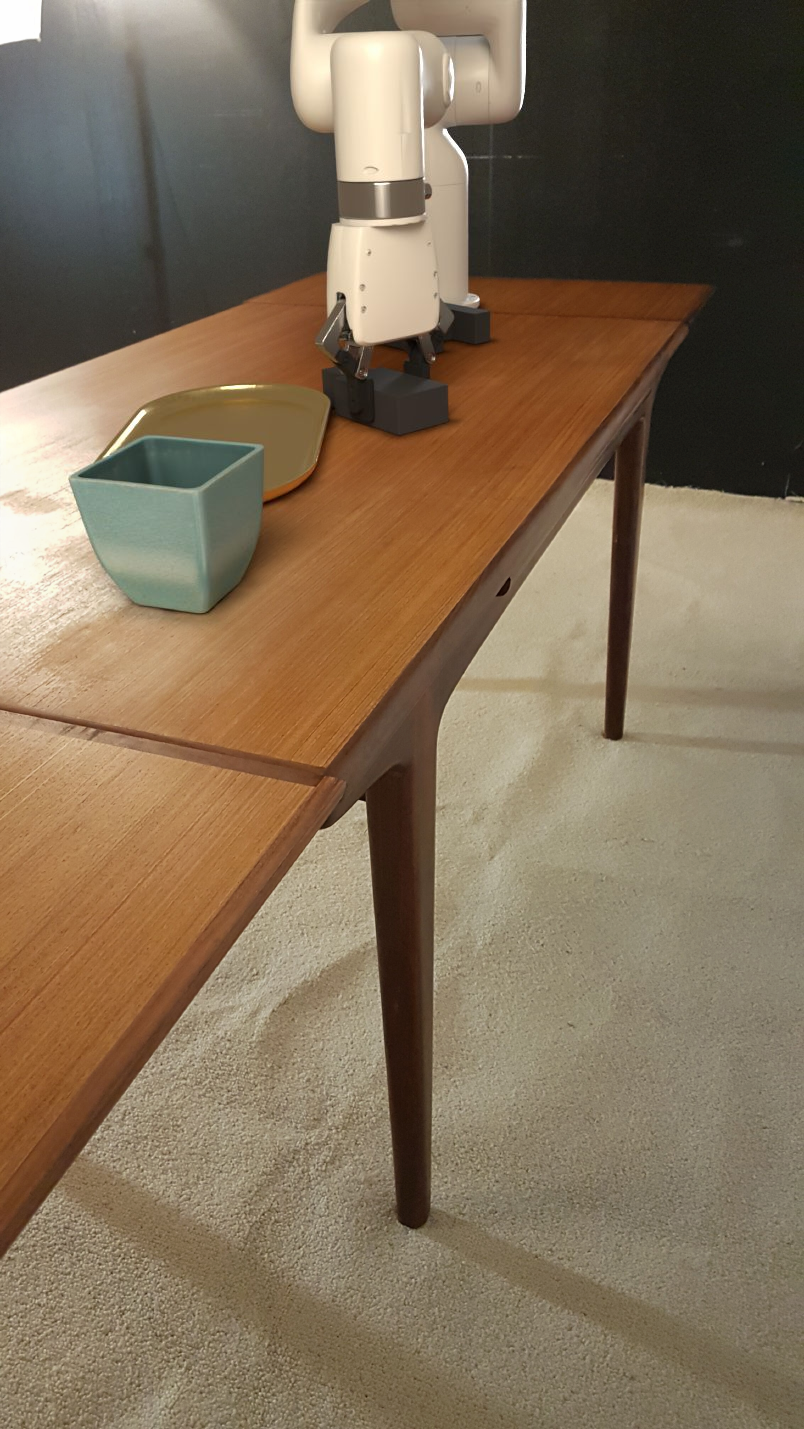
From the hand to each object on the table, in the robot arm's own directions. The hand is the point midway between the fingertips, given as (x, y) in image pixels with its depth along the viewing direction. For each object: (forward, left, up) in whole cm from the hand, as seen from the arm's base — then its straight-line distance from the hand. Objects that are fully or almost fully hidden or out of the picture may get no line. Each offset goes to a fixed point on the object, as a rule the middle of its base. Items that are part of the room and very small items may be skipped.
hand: (390, 409), depth 98 cm
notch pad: (-22, +24, -1) cm, 33 cm away
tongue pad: (-2, 0, -1) cm, 2 cm away
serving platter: (-3, -17, -1) cm, 17 cm away
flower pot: (+22, -34, -1) cm, 41 cm away
